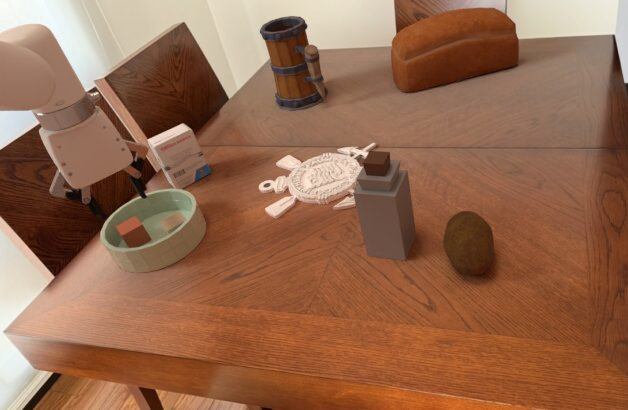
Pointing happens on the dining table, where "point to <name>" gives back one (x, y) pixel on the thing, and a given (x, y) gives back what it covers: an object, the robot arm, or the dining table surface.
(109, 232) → the bowl
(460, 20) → the bread
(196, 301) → the dining table surface
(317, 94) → the mug
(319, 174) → the pendant
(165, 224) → the cream block
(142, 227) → the terracotta block
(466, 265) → the potato
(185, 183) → the ink box
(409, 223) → the perfume bottle
